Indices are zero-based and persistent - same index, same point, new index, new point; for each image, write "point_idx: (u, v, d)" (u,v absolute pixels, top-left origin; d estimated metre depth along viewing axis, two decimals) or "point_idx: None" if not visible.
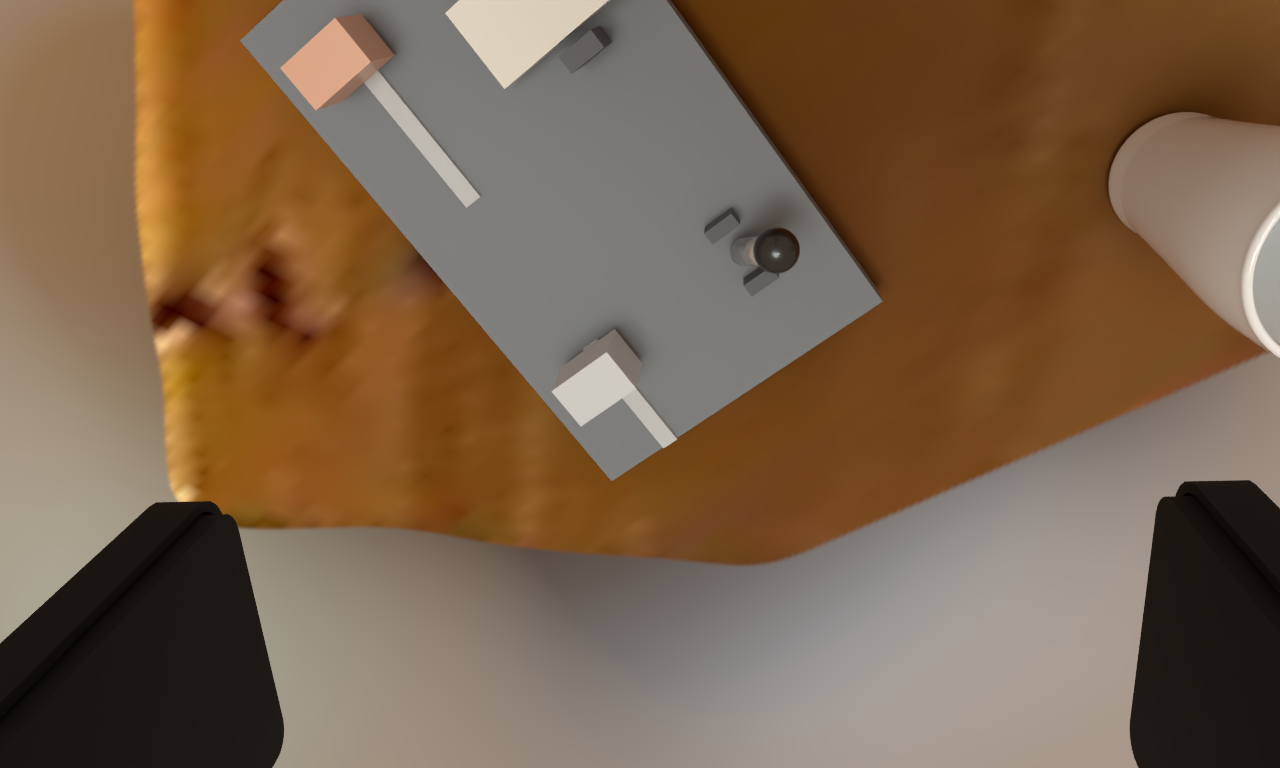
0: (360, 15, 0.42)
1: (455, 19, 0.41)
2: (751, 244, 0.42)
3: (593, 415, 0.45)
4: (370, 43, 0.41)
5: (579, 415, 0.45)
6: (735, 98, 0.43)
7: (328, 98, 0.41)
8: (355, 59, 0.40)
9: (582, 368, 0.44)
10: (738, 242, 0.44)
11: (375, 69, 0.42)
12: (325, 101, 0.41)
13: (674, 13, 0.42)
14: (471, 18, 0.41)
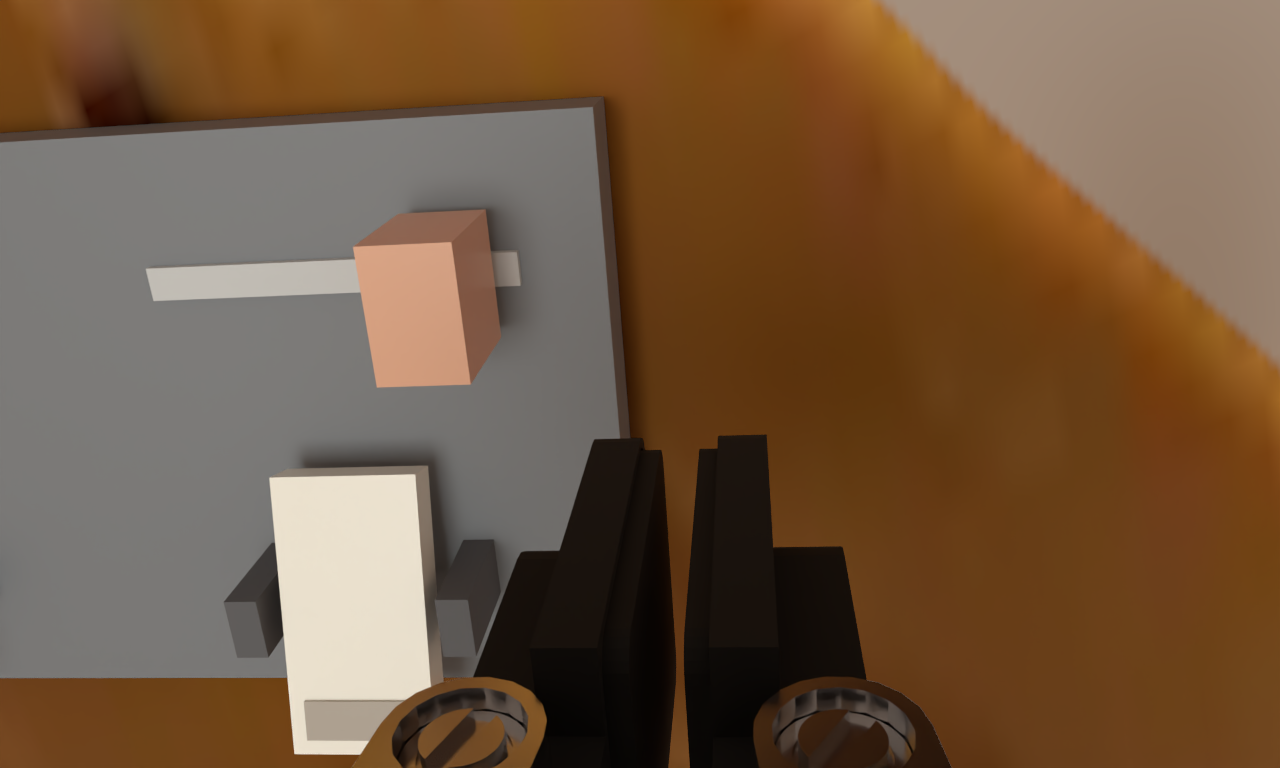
0: None
1: (398, 483, 0.25)
2: None
3: None
4: None
5: None
6: (139, 675, 0.30)
7: (360, 281, 0.21)
8: (393, 368, 0.22)
9: None
10: None
11: None
12: (358, 272, 0.21)
13: (278, 675, 0.29)
14: (384, 506, 0.25)
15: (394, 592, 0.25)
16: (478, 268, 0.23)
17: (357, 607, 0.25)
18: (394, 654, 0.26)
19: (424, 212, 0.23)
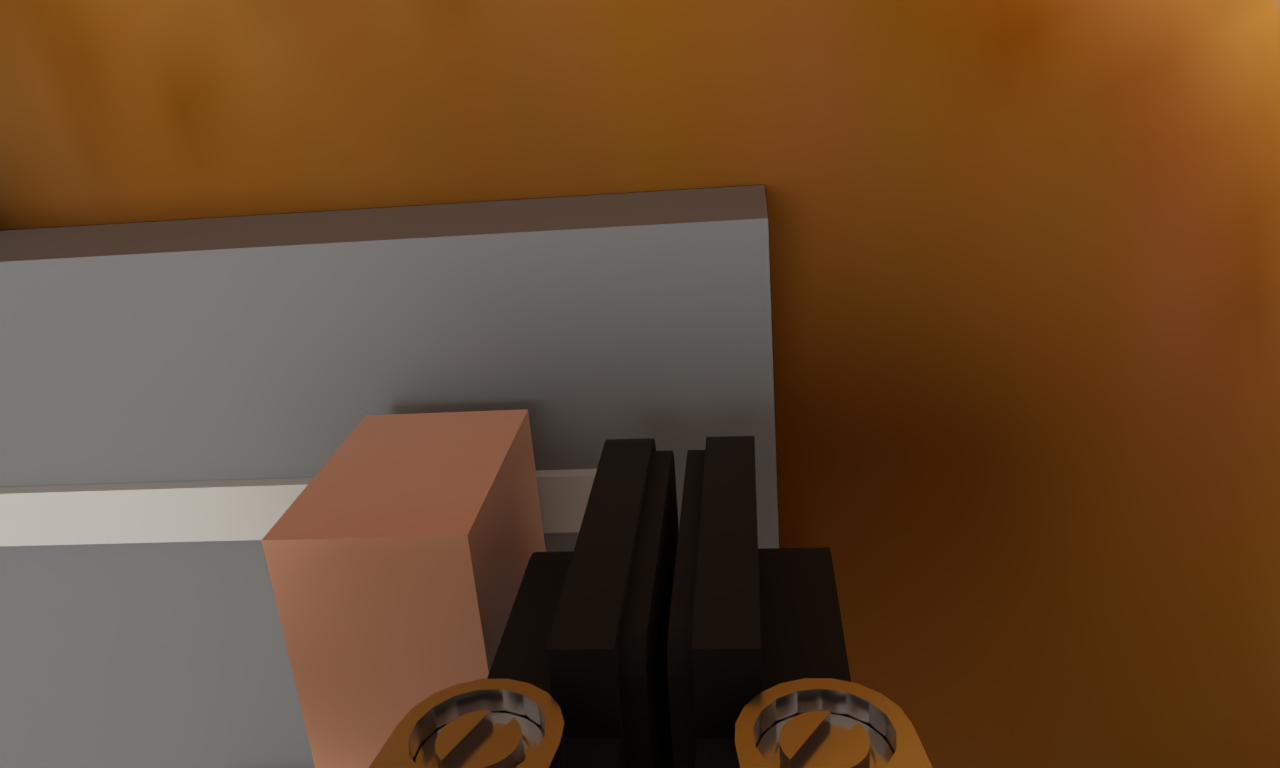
0: None
1: None
2: None
3: None
4: None
5: None
6: None
7: (279, 604, 0.10)
8: (352, 759, 0.11)
9: None
10: None
11: None
12: (276, 586, 0.10)
13: None
14: None
15: None
16: (518, 536, 0.12)
17: None
18: None
19: (414, 414, 0.13)
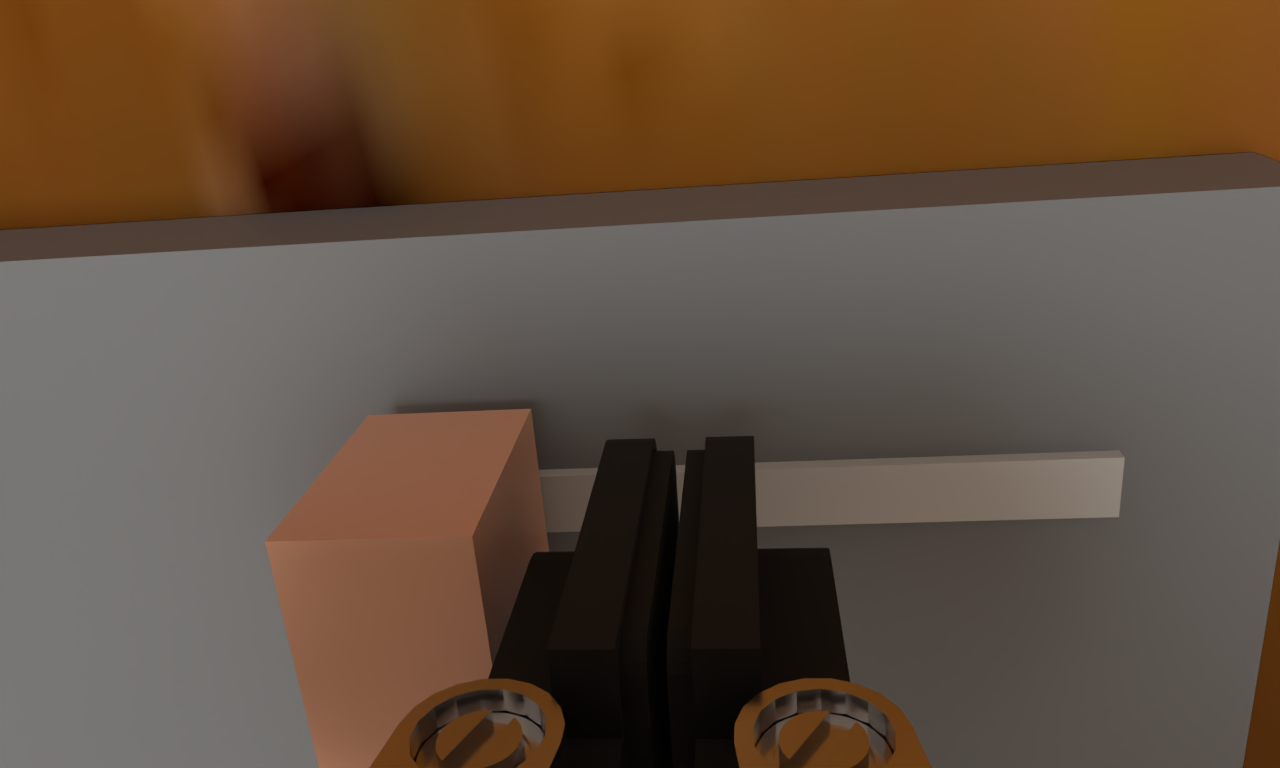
0: None
1: None
2: None
3: None
4: None
5: None
6: None
7: (283, 605, 0.10)
8: (356, 760, 0.11)
9: None
10: None
11: None
12: (280, 588, 0.10)
13: None
14: None
15: None
16: (521, 536, 0.12)
17: None
18: None
19: (416, 414, 0.13)
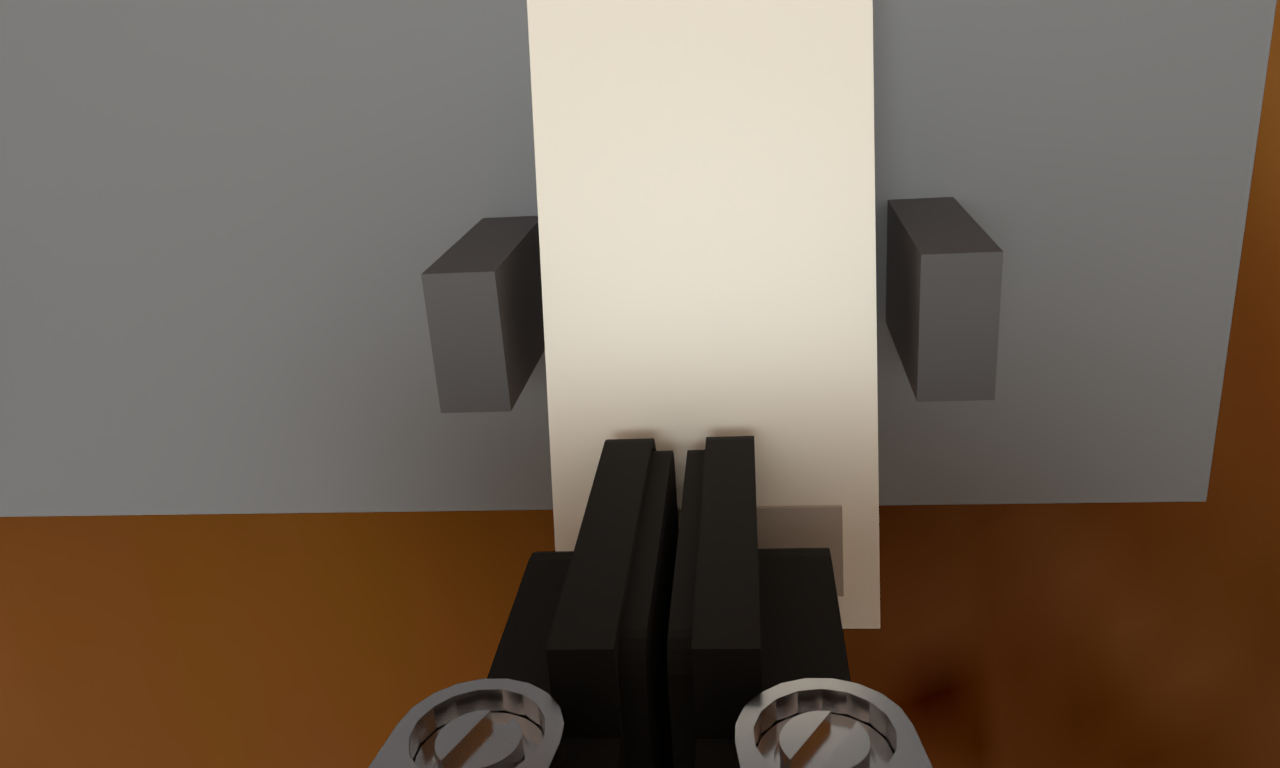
0: None
1: None
2: None
3: None
4: None
5: None
6: (206, 510, 0.16)
7: None
8: None
9: None
10: None
11: None
12: None
13: (473, 506, 0.15)
14: (794, 50, 0.11)
15: (806, 255, 0.11)
16: None
17: (717, 293, 0.11)
18: (797, 399, 0.11)
19: None
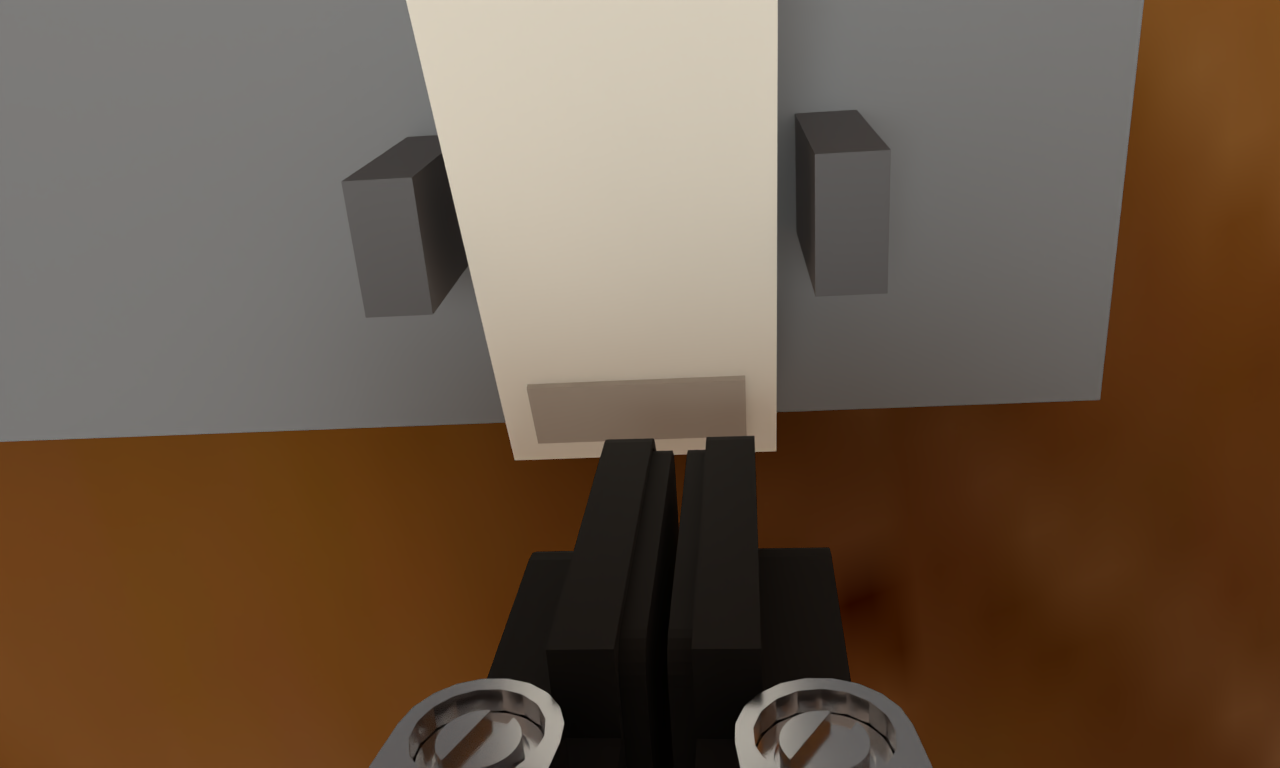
0: None
1: None
2: None
3: None
4: None
5: None
6: (147, 432, 0.16)
7: None
8: None
9: None
10: None
11: None
12: None
13: (408, 422, 0.16)
14: (694, 4, 0.10)
15: (710, 192, 0.12)
16: None
17: (627, 224, 0.12)
18: (705, 303, 0.13)
19: None
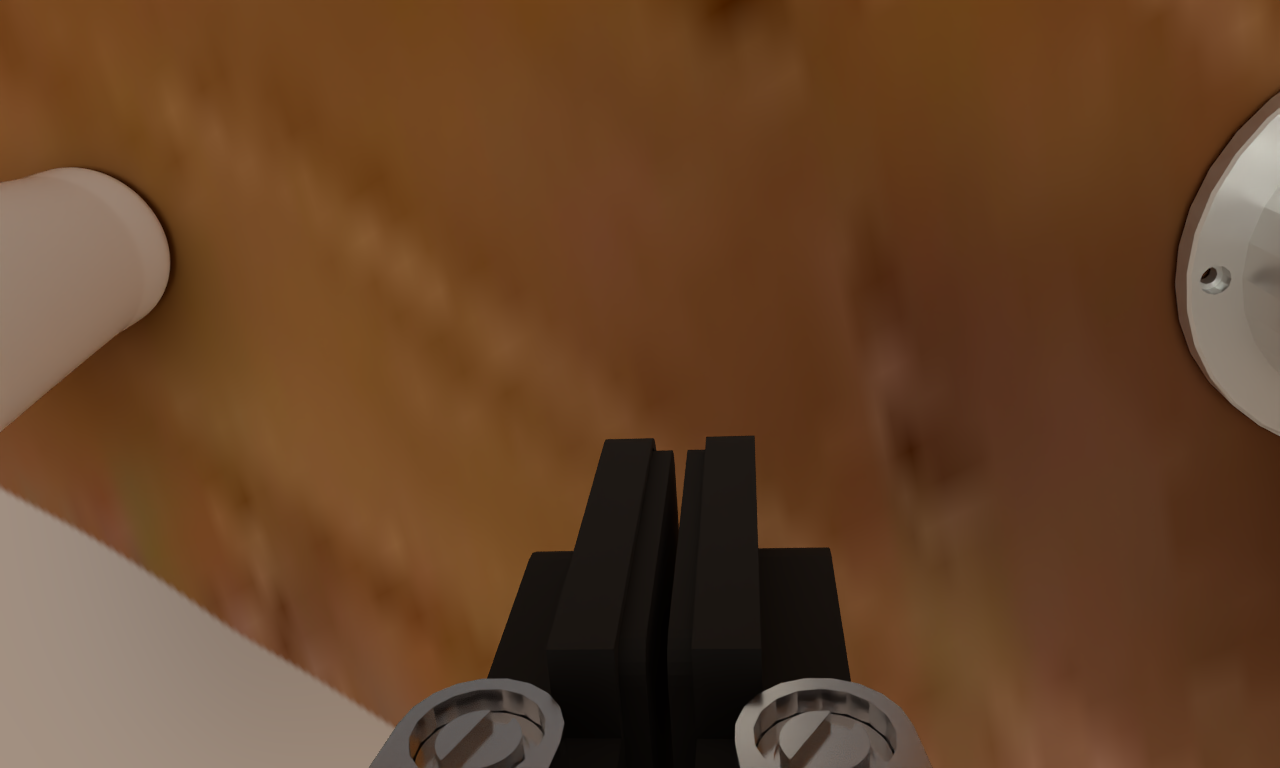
0: None
1: None
2: None
3: None
4: None
5: None
6: None
7: None
8: None
9: None
10: None
11: None
12: None
13: None
14: None
15: None
16: None
17: None
18: None
19: None
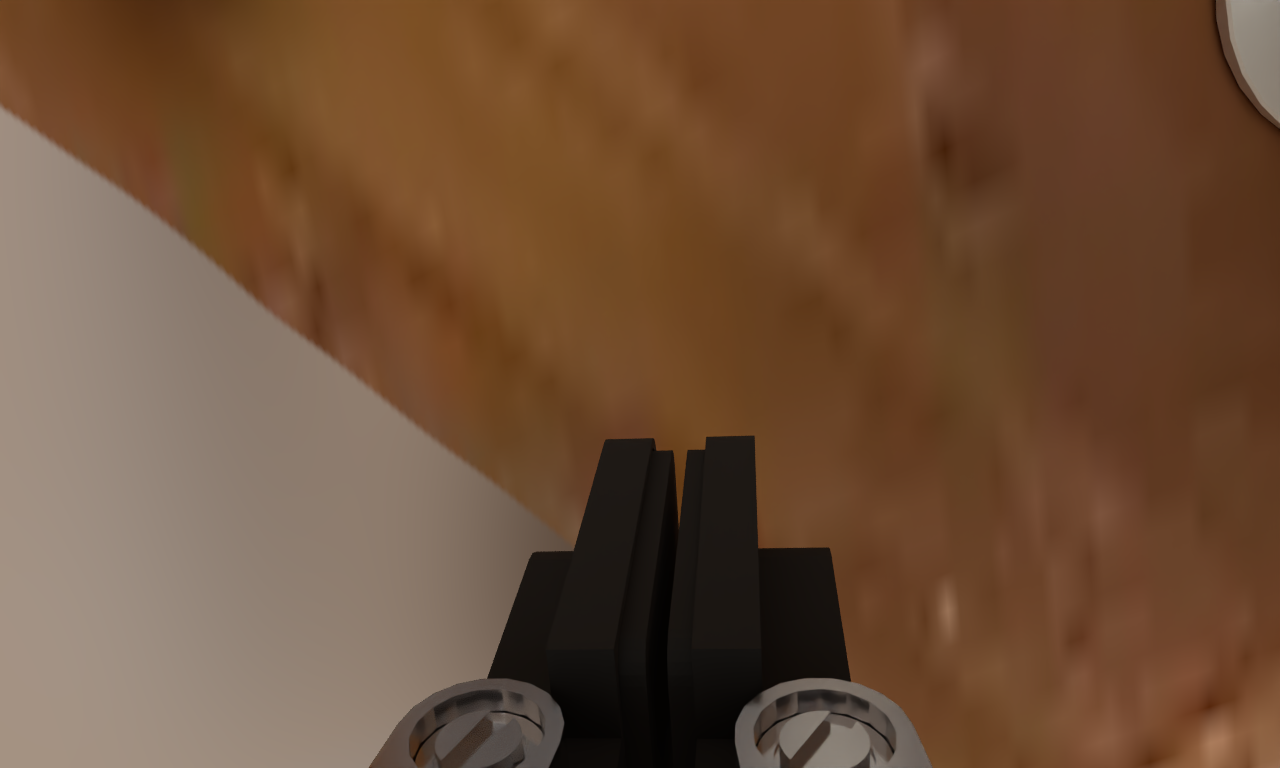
0: None
1: None
2: None
3: None
4: None
5: None
6: None
7: None
8: None
9: None
10: None
11: None
12: None
13: None
14: None
15: None
16: None
17: None
18: None
19: None
